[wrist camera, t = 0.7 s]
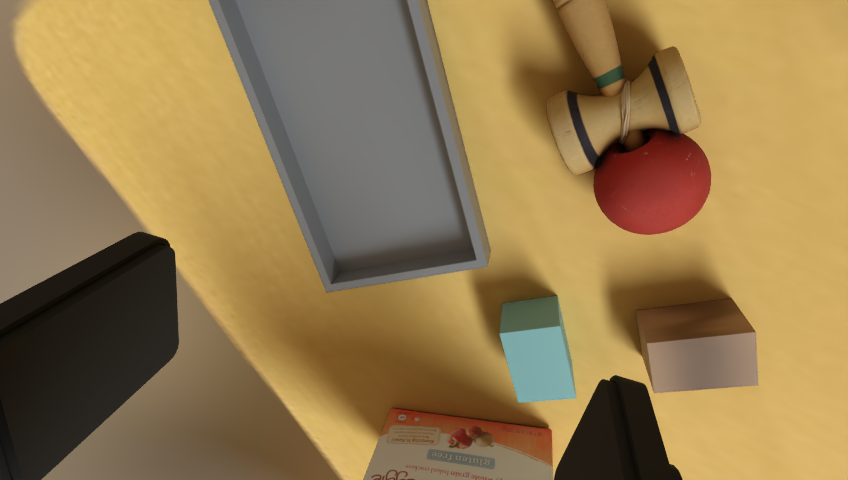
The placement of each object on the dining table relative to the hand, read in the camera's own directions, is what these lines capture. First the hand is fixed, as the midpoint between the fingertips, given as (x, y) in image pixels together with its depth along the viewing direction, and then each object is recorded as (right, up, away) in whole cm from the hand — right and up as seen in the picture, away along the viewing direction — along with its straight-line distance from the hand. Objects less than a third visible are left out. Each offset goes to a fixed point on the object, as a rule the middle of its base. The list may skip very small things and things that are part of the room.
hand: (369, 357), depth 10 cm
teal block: (+10, -4, +26) cm, 28 cm away
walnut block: (+19, -4, +23) cm, 31 cm away
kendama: (+12, +12, +18) cm, 25 cm away
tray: (-3, +11, +22) cm, 24 cm away
